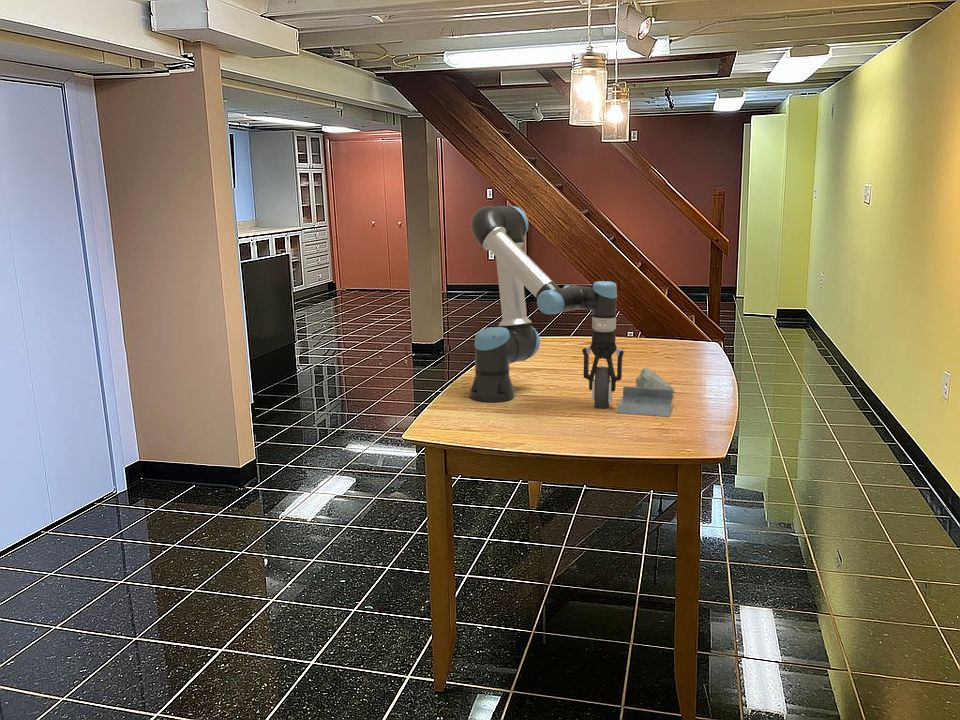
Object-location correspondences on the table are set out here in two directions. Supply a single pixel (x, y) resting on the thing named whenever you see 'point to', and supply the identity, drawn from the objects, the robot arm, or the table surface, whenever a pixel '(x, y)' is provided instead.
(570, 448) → the table surface
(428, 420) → the table surface
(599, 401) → the dark grey round peg
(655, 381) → the decorative stone
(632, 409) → the plate
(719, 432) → the table surface
